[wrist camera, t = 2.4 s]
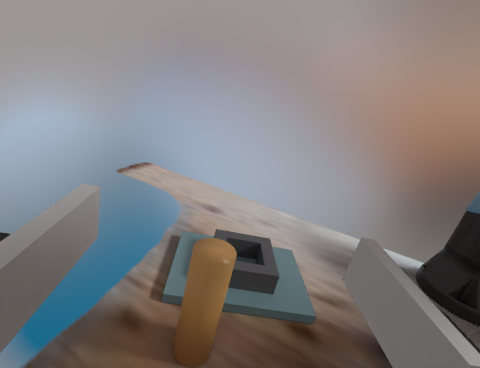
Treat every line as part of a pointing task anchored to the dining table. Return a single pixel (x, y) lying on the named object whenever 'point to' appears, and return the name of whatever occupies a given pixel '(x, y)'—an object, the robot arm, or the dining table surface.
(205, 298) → the cylinder
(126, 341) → the dining table surface
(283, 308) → the dock
